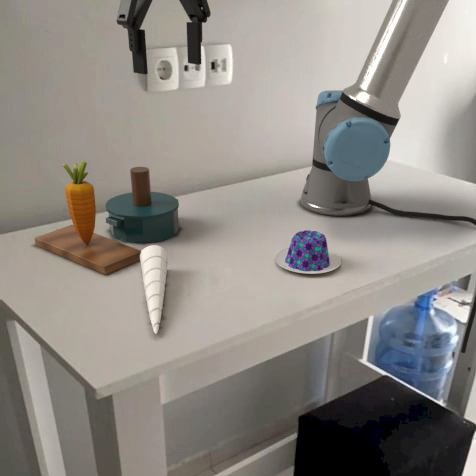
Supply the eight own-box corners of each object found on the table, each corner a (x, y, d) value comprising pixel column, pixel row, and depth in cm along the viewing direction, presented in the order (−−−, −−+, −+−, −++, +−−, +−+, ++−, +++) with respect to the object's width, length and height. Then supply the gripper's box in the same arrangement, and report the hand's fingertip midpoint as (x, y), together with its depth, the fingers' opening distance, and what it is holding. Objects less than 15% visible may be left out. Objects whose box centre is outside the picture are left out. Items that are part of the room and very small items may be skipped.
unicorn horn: (130, 337, 93) (127, 308, 90) (141, 269, 112) (139, 243, 109) (162, 337, 93) (160, 307, 90) (168, 269, 112) (167, 243, 109)
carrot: (67, 246, 116) (54, 162, 107) (85, 237, 120) (73, 155, 111) (89, 251, 114) (77, 166, 105) (106, 242, 118) (96, 159, 109)
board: (143, 258, 116) (142, 251, 115) (105, 274, 110) (104, 266, 109) (73, 231, 126) (72, 224, 125) (35, 245, 120) (34, 237, 119)
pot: (197, 226, 129) (196, 202, 126) (137, 251, 118) (135, 226, 116) (151, 211, 136) (149, 188, 133) (91, 233, 125) (87, 209, 122)
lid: (193, 205, 125) (192, 168, 121) (141, 225, 116) (138, 186, 112) (143, 189, 132) (140, 154, 128) (90, 207, 123) (85, 170, 119)
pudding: (295, 282, 108) (297, 253, 105) (263, 256, 117) (264, 229, 114) (353, 270, 113) (357, 242, 109) (318, 246, 121) (320, 219, 118)
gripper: (117, -85, 90) (131, 80, 102) (230, -81, 106) (229, 62, 118) (83, -85, 94) (100, 74, 106) (197, -81, 109) (200, 58, 122)
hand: (168, 68), depth 112 cm, fingers open, 13 cm apart
